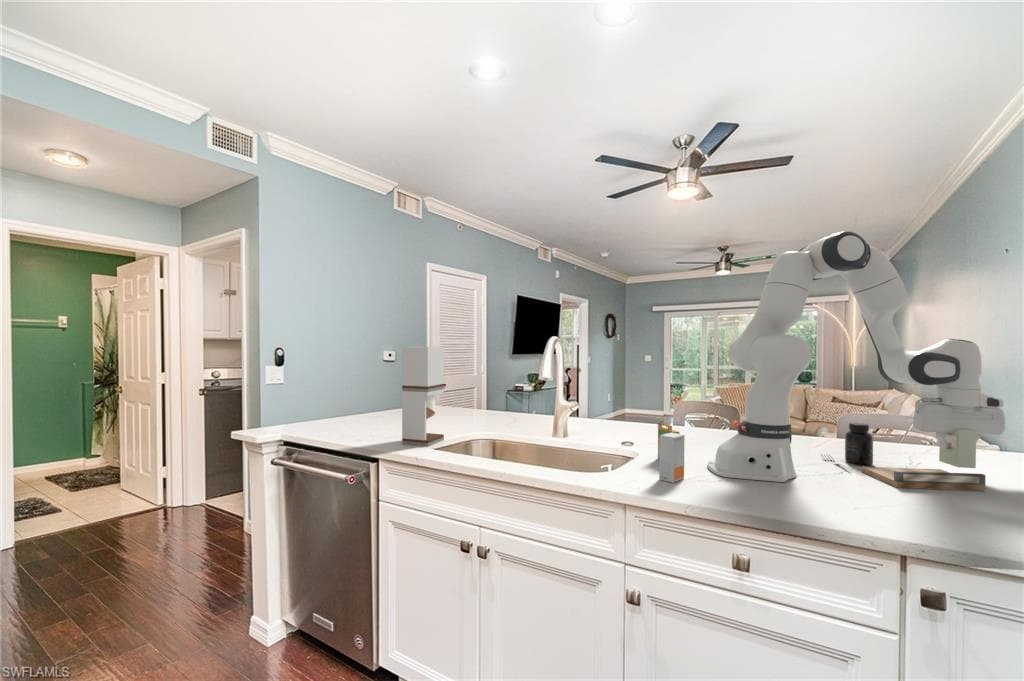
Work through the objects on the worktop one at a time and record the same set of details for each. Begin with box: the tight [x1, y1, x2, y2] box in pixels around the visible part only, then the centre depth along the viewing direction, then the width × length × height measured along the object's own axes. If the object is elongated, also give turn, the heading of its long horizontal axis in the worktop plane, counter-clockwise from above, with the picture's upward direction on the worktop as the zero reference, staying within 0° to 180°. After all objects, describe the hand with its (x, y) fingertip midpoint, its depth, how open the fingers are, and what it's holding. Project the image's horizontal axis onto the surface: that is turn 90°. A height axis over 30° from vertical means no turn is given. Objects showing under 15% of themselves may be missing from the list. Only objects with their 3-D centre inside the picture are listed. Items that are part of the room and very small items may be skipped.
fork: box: [820, 453, 855, 474], centre depth 133 cm, size 3×24×2 cm, turn 167°
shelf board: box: [861, 466, 986, 491], centre depth 121 cm, size 20×14×4 cm
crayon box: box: [657, 421, 681, 460], centre depth 141 cm, size 7×3×12 cm, turn 16°
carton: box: [938, 429, 977, 469], centre depth 124 cm, size 4×6×10 cm, turn 172°
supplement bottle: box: [844, 422, 874, 467], centre depth 139 cm, size 7×7×12 cm
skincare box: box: [658, 433, 685, 484], centre depth 123 cm, size 6×4×12 cm
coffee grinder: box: [401, 346, 445, 447], centre depth 168 cm, size 11×11×35 cm
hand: (957, 449), depth 124 cm, fingers closed on carton, 4 cm apart
